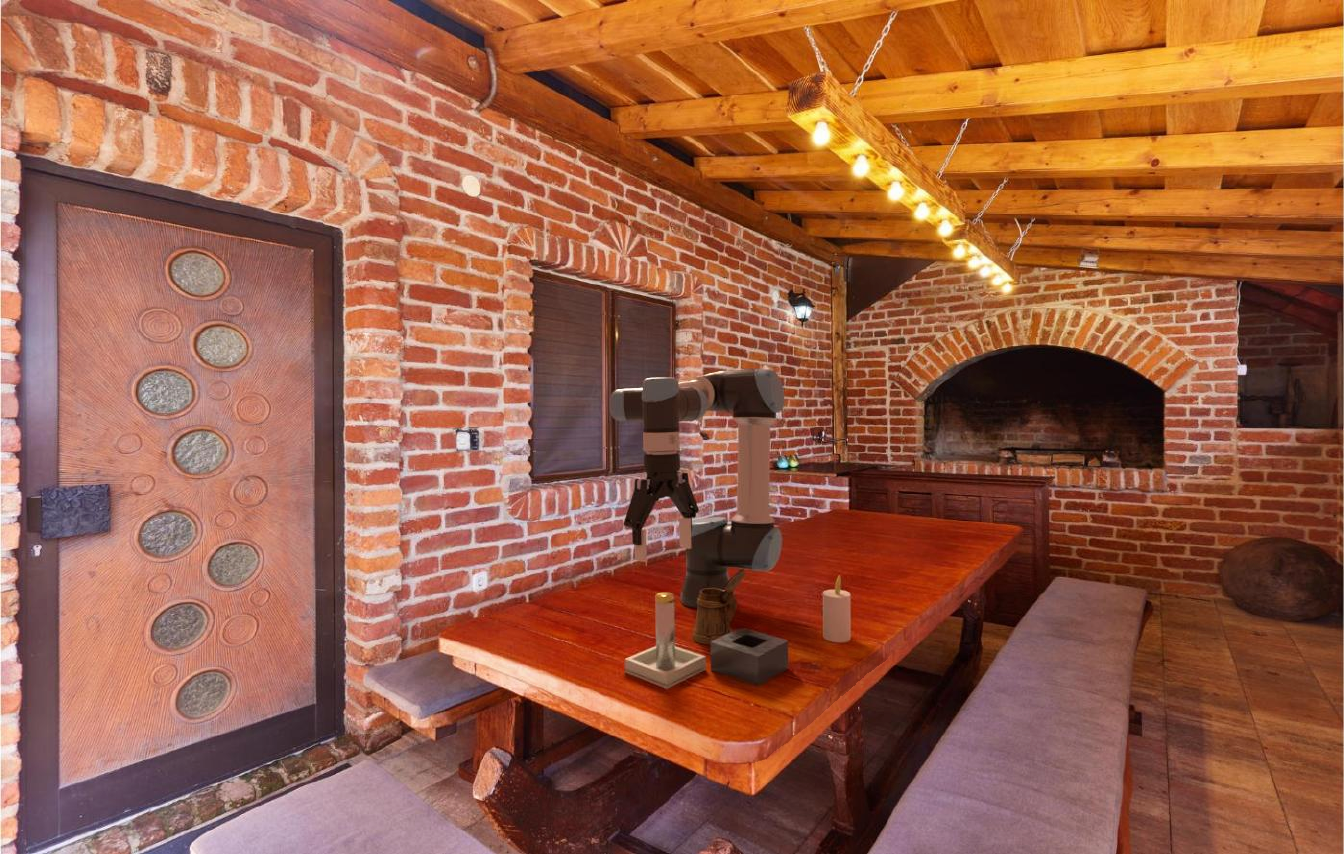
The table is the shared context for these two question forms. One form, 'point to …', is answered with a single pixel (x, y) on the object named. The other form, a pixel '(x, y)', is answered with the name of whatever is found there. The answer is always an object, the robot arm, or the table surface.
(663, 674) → the tray
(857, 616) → the table surface
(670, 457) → the robot arm
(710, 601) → the wooden mug
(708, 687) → the table surface
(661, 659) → the gold capped cylinder
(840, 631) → the candle
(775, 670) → the block
